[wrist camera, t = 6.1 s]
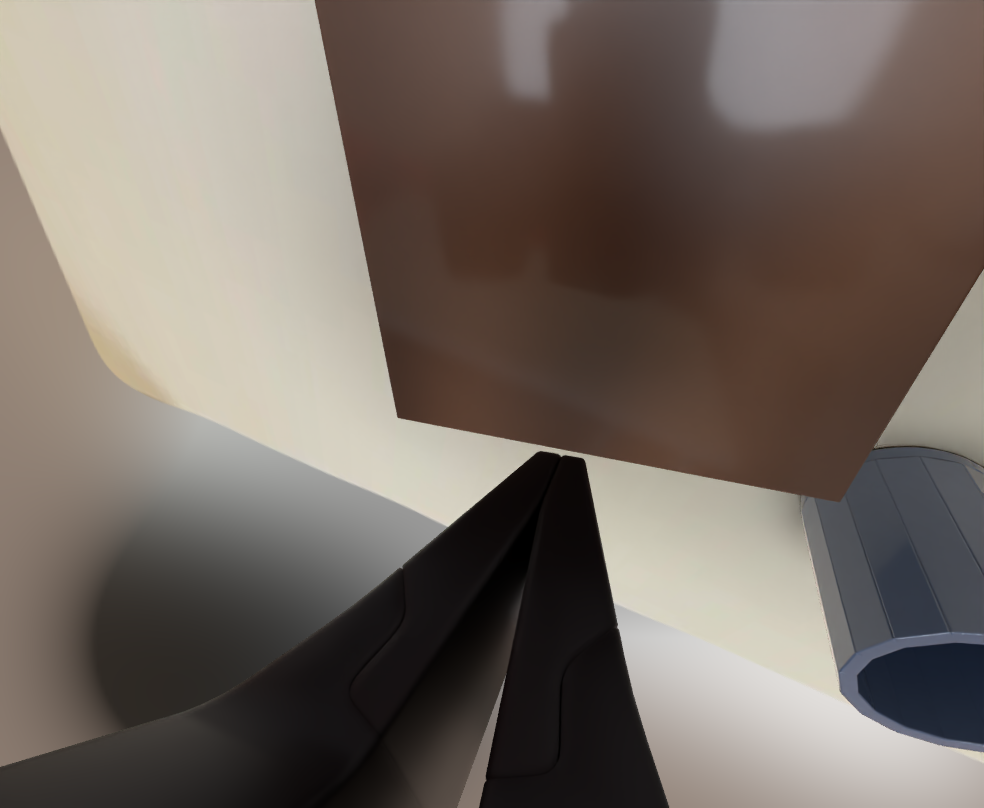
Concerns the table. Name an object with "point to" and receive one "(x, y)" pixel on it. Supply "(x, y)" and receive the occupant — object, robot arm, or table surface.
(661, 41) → the box lid
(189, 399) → the table surface
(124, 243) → the table surface
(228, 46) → the table surface
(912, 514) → the cup
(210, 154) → the table surface
